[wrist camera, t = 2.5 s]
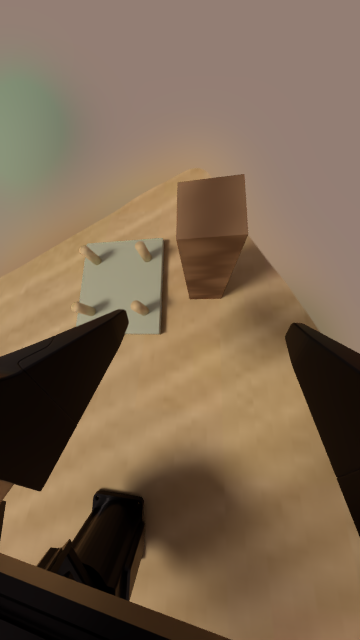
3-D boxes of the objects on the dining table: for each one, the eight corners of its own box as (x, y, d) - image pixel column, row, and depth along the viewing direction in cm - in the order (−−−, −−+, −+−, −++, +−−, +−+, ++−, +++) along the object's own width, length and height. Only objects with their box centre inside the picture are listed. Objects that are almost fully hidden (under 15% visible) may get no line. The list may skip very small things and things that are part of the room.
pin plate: (80, 333, 24) (57, 331, 20) (91, 247, 27) (72, 230, 23) (160, 334, 22) (152, 331, 18) (164, 242, 25) (157, 222, 21)
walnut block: (189, 299, 23) (176, 239, 10) (190, 271, 24) (177, 182, 11) (220, 298, 22) (248, 234, 9) (220, 269, 23) (244, 174, 10)
